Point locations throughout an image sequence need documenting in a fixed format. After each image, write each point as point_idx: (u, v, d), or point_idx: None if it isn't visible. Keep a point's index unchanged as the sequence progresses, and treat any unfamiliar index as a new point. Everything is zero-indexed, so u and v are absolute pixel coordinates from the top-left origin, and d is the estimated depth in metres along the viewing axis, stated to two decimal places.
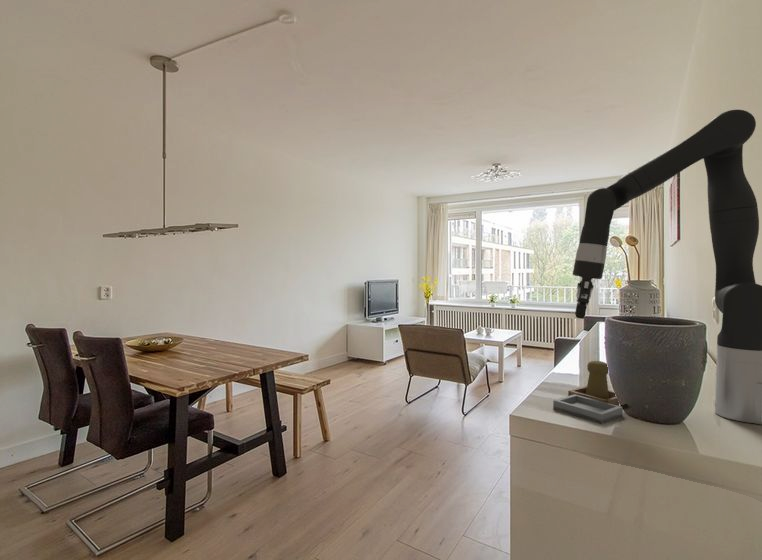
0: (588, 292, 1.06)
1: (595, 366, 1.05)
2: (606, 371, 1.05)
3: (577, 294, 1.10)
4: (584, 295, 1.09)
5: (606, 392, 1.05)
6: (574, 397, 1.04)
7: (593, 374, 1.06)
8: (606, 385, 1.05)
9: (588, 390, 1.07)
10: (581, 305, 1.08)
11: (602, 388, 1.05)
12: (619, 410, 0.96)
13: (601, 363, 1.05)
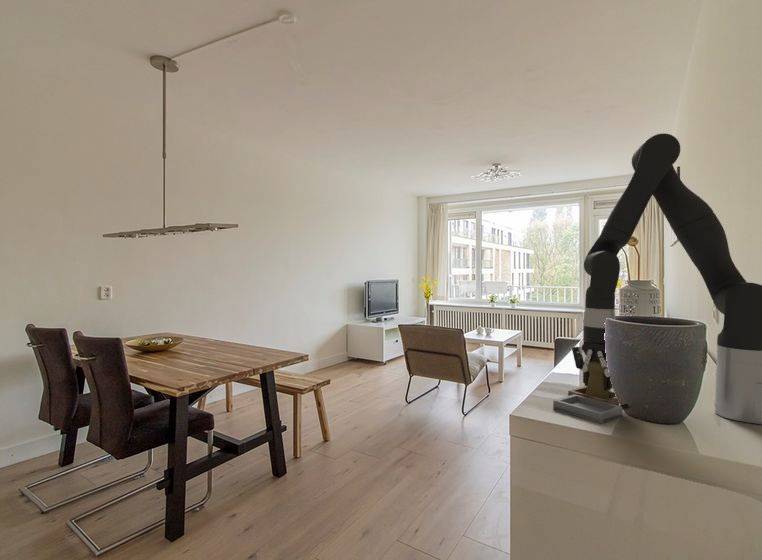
0: None
1: (595, 366, 1.05)
2: None
3: (606, 366, 1.04)
4: None
5: (606, 392, 1.05)
6: (574, 397, 1.04)
7: (593, 374, 1.06)
8: None
9: (588, 390, 1.07)
10: None
11: (602, 388, 1.05)
12: (619, 410, 0.96)
13: None
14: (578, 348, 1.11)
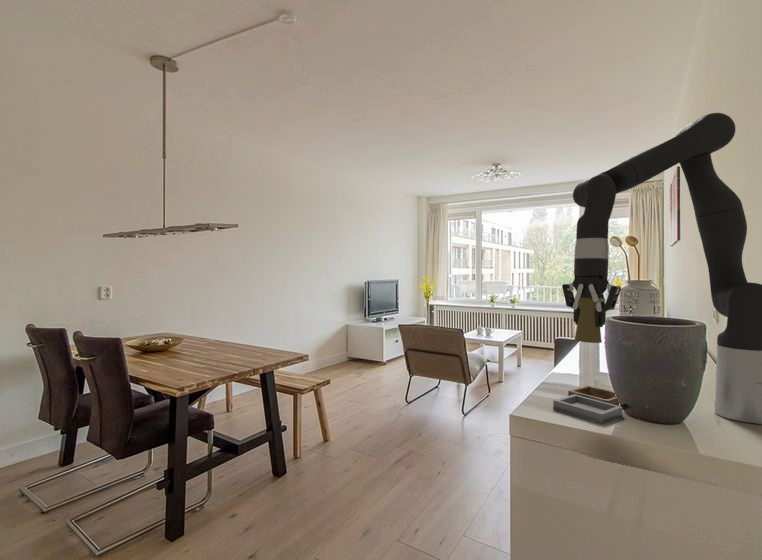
0: (616, 298, 0.94)
1: (586, 301, 0.97)
2: None
3: (598, 300, 0.96)
4: (601, 300, 0.97)
5: (598, 329, 0.97)
6: (574, 397, 1.04)
7: (583, 309, 0.98)
8: None
9: (578, 328, 0.99)
10: (604, 312, 0.96)
11: (593, 324, 0.97)
12: (619, 410, 0.96)
13: None
14: (569, 285, 1.03)
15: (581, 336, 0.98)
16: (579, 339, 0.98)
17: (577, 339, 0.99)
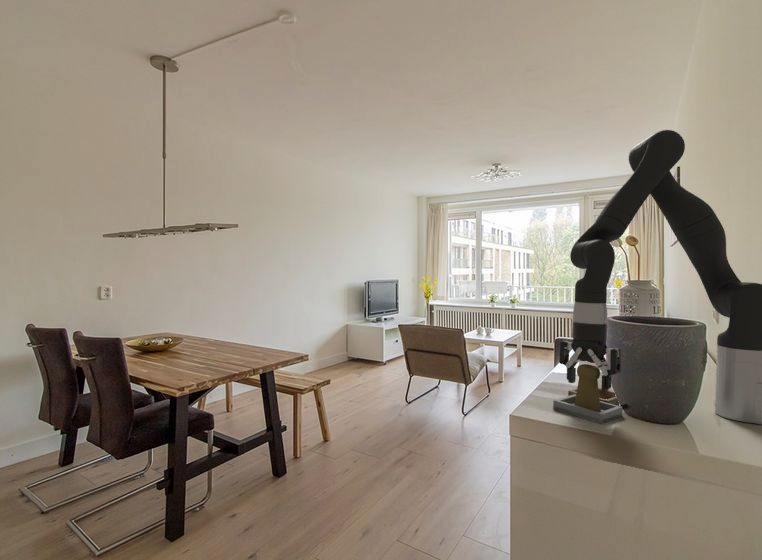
0: (619, 361, 0.93)
1: (585, 370, 0.97)
2: (597, 376, 0.96)
3: (601, 364, 0.94)
4: (604, 363, 0.95)
5: (597, 398, 0.96)
6: (574, 397, 1.04)
7: (582, 378, 0.98)
8: (597, 391, 0.97)
9: (577, 396, 0.98)
10: (610, 376, 0.94)
11: (592, 394, 0.96)
12: (619, 410, 0.96)
13: (591, 367, 0.97)
14: (567, 343, 1.02)
15: (580, 406, 0.97)
16: None
17: None
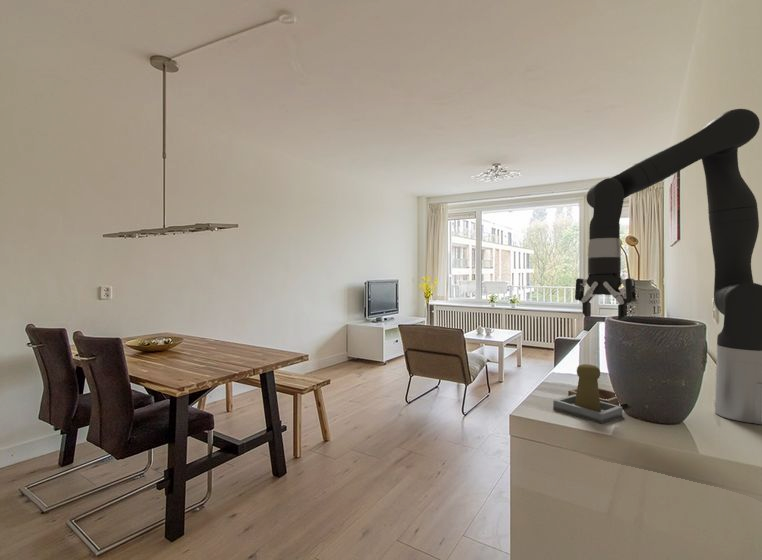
0: (634, 290, 0.99)
1: (585, 370, 0.97)
2: (597, 376, 0.96)
3: (617, 294, 1.00)
4: (620, 294, 1.01)
5: (597, 398, 0.96)
6: (574, 397, 1.04)
7: (582, 378, 0.98)
8: (597, 391, 0.97)
9: (577, 396, 0.98)
10: (625, 305, 1.00)
11: (592, 394, 0.96)
12: (619, 410, 0.96)
13: (591, 367, 0.97)
14: (582, 280, 1.09)
15: (580, 406, 0.97)
16: None
17: None
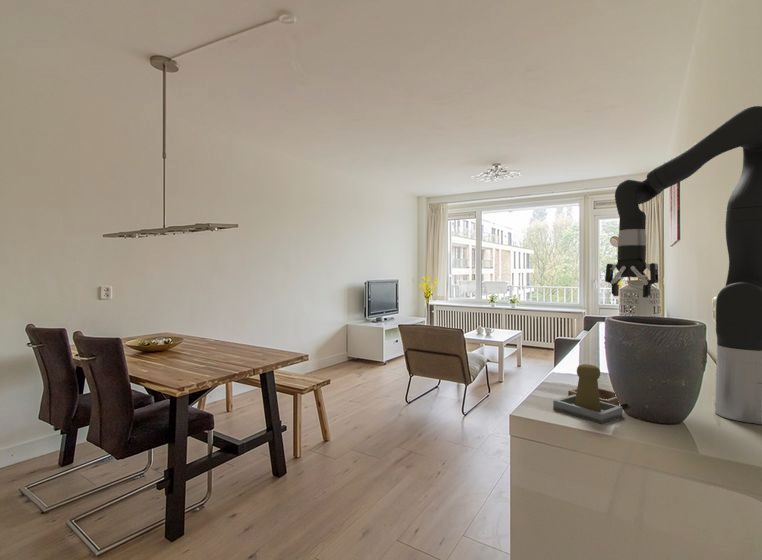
0: (657, 273, 1.19)
1: (585, 370, 0.97)
2: (597, 376, 0.96)
3: (642, 276, 1.20)
4: (644, 276, 1.21)
5: (597, 398, 0.96)
6: (574, 397, 1.04)
7: (582, 378, 0.98)
8: (597, 391, 0.97)
9: (577, 396, 0.98)
10: (649, 285, 1.19)
11: (592, 394, 0.96)
12: (619, 410, 0.96)
13: (591, 367, 0.97)
14: (612, 265, 1.28)
15: (580, 406, 0.97)
16: None
17: None
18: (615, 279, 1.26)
